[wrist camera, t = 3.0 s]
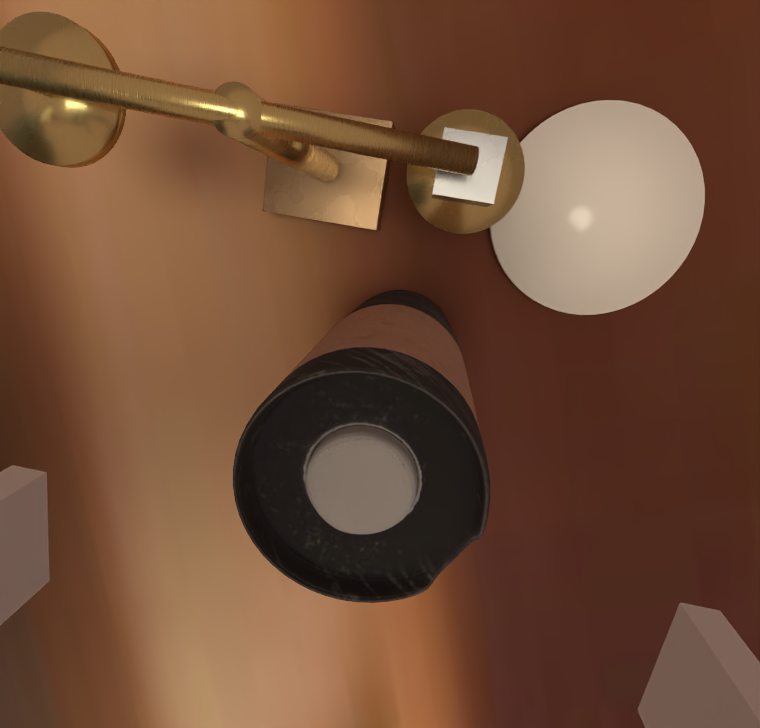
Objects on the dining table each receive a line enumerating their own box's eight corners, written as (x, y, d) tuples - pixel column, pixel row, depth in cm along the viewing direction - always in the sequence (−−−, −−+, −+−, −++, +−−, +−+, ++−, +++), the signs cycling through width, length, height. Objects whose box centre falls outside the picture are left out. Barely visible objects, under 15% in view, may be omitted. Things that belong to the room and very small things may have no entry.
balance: (173, 195, 32) (-131, 150, 15) (177, 94, 30) (-158, -91, 13) (483, 247, 31) (553, 266, 14) (505, 146, 29) (615, 21, 12)
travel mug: (335, 291, 33) (202, 376, 13) (451, 279, 32) (486, 351, 12) (350, 400, 35) (252, 611, 15) (460, 391, 34) (502, 605, 14)
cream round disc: (470, 294, 32) (472, 296, 31) (513, 90, 29) (517, 84, 27) (657, 326, 31) (666, 330, 30) (723, 122, 28) (735, 117, 27)
